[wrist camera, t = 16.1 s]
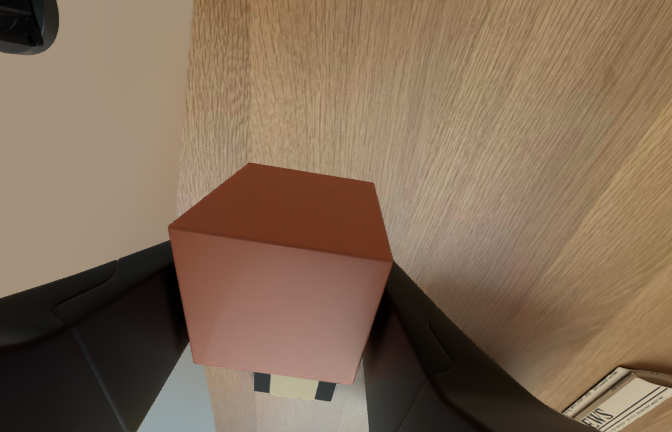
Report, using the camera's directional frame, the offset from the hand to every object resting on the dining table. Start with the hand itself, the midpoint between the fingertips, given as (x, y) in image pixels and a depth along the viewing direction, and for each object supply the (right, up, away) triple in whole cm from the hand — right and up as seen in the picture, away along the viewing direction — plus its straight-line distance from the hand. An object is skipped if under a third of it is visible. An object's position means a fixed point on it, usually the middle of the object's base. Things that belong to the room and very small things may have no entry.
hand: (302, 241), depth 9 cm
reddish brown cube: (0, 0, +1) cm, 1 cm away
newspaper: (+34, -27, +25) cm, 50 cm away
